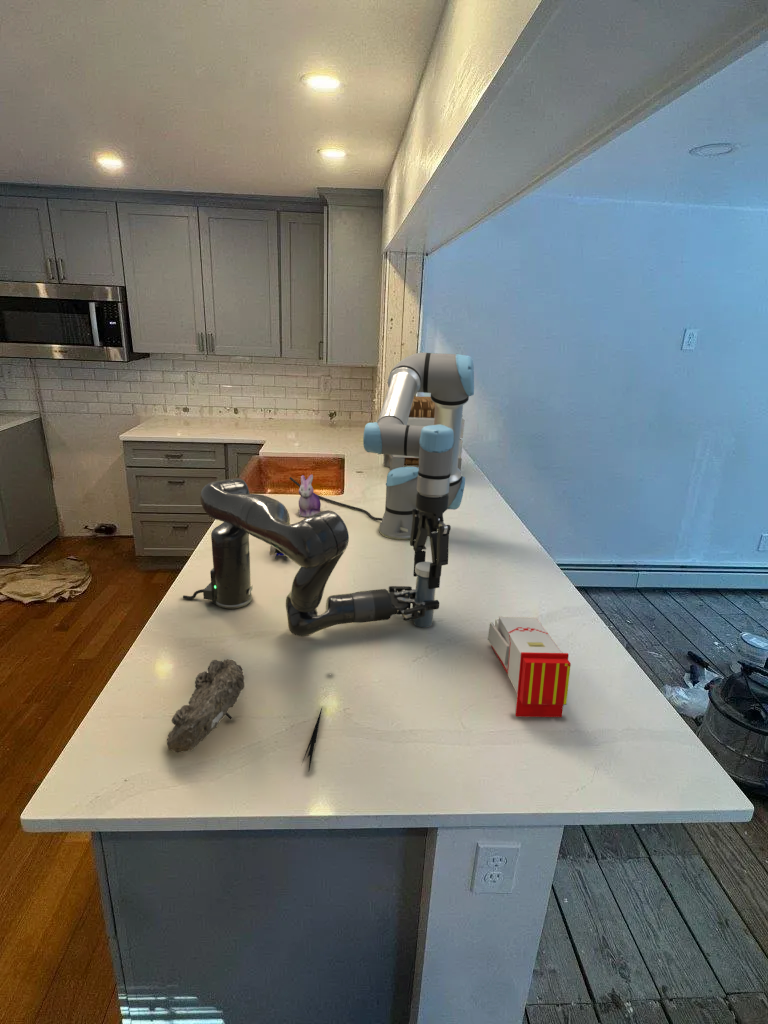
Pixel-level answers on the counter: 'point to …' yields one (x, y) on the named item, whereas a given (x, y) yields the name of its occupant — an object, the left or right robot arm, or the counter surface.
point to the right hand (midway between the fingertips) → (426, 581)
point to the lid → (422, 569)
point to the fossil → (206, 705)
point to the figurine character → (274, 550)
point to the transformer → (419, 416)
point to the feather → (313, 740)
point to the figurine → (308, 498)
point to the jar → (424, 595)
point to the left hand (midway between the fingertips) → (434, 599)
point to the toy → (531, 665)
